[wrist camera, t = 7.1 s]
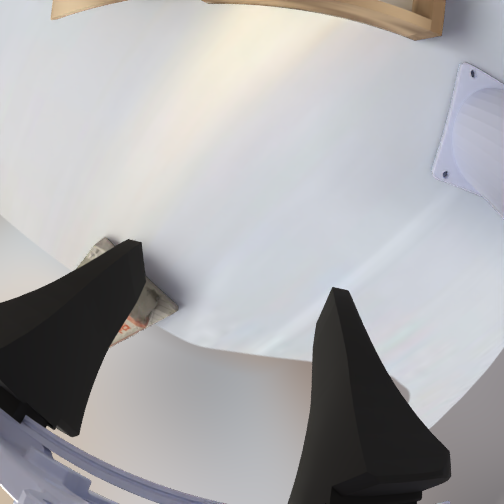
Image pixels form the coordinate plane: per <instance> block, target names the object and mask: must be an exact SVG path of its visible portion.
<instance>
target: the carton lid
mask: <svg viewBox="0 0 504 504" xmlns="http://www.w3.org/2000/svg"><path fill="white" fill-rule="evenodd" d="M122 1H127V0H53V4H52V12H51V20H57V19H59V18H62V17H65V16H68V15H71V14H75V13H78V12H81V11H85V10H88V9H92V8H96V7H100V6H104V5H108V4H113V3H117V2H122Z"/></svg>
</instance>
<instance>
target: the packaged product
mask: <svg viewBox="0 0 504 504" xmlns="http://www.w3.org/2000/svg"><path fill="white" fill-rule="evenodd" d="M113 247H115V246H114V245H113V244H112V243H111V242H110V241H109V240H108V239H107V238H103V239H102V240H100V241H99V242H98V243H97V244H95V245H94V246H93V248H92V249H91V250H90V252H89V253H88V254H87V256H86V257H85V259H84V260H83V261H82V262H81V264H80V265H79V266H78V267H77V269H78V268H79V267H81V266H83V265H85V264H86V263H88V262H90V261H91V260H93V259H95V258H96V257H98V256H100V255H101V254H103V253H105V252H106V251H108V250H110V249H111V248H113ZM177 311H178V306H177V305H176V304H175V303H174V302H173V301H172V300H171V299H170V298H169V297H168V296H167V295H165V294H164V293H163V292H162V291H161V290H160V289H159V288H158V287H157V286H156V285H155V284H154V283H152V282H151V281H150V280H149V279H148V278H147V277H146V284H145V286H144V288H143V290H142V292H141V295H140V297H139V299H138V301H137V303H136V305H135V306H134V308H133V310H132V311H131V313H130V314H129V316H128V318H127V319H126V321H125V322H124V324H123V326H122V327H121V329H120V330H119V332H118V334H117V335H116V337H115V339H114V340H113V342H112V344H111V345H110V347H109V348H111V347H113V346H114V345H116V344H117V343H119V342H122V341H123V340H126V339H128V338H129V337H131V336H133V335H135V334H137V333H138V332H139V331H141V330H144V329H146V328H147V327H149V326H151V325H153V324H154V323H157V322H159V321H160V320H162V319H164V318H166V317H168V316H170V315H172V314H173V313H175V312H177Z"/></svg>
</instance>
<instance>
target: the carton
mask: <svg viewBox="0 0 504 504" xmlns="http://www.w3.org/2000/svg"><path fill="white" fill-rule="evenodd" d="M202 1H204V2H206V3H208V4H247V5H262V6H273V7H282V8H290V9H297V10H304V11H310V12H315V13H321V14H326V15H331V16H335V17H340V18H344V19H348V20H352V21H356V22H360V23H364V24H367V25H371V26H374V27H377V28H380V29H384V30H387V31H390V32H393V33H396V34H399V35H401V36H404V37H407V38H409V39H412V40H415V41H416V40H421V39H426V38H432V37H438V36H442V29H443V22H444V13H445V3H446V0H202Z"/></svg>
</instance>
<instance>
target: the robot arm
mask: <svg viewBox="0 0 504 504" xmlns="http://www.w3.org/2000/svg"><path fill="white" fill-rule="evenodd" d="M472 70H473V71H474V77H472V76H471V71H472ZM445 171H447V175H446V176H445V177H444V176H443V173H444V172H445ZM431 172H432V175H433V176H434V177H435V178H436V179H438V180H440V181H443V182H446V183H448V184H451V185H454V186H456V187H459V188H461V189H464V190H466V191H469V192H471V193H474V194H476V195H479V196H481V197H483V198H485V200H486V201H487V202H488V203H489V204H490V205H491V206H492V207H493V208H494V209H495V210H496V211H497V212H498V214H499V215H500V216H501V217H502V218H503V219H504V84H503V83H501V82H500V81H498V80H497V79H495V78H493V77H492V76H490V75H488V74H487V73H485V72H483V71H481V70H480V69H478V68H476V67H474V66H472V65H471V64H469V63H461V64H460V65H459V68H458V73H457V78H456V83H455V87H454V92H453V96H452V101H451V105H450V109H449V113H448V116H447V120H446V124H445V127H444V131H443V135H442V138H441V141H440V145H439V148H438V151H437V154H436V157H435V160H434V163H433V166H432V171H431ZM145 284H146V276H145V269H144V261H143V252H142V242H138V241H134V240H130V239H128V240H126V241H124V242H122V243H120V244H118V245H116V246H115V247H113V248H111V249H110V250H108V251H106V252H105V253H103V254H101V255H100V256H98V257H96V258H95V259H93V260H91V261H90V262H88V263H86V264H85V265H83V266H81V267H79V268H78V269H76V270H74V271H72V272H70V273H69V274H67V275H65V276H63V277H62V278H60V279H58V280H56V281H54V282H52V283H50V284H48V285H46V286H44V287H41V288H39V289H37V290H35V291H32V292H29V293H27V294H24V295H22V296H20V297H17V298H14V299H11V300H8V301H5V302H2V303H0V485H1V487H2V488H3V489H4V490H5V491H6V492H7V493H8V494H9V495H10V496H11V497H12V498H13V499H14V502H13V504H119V503H116V502H114V501H112V500H110V499H107V498H105V497H103V496H101V495H99V494H97V493H95V492H93V491H91V490H89V487H90V485H91V480H89V479H88V478H86V477H84V476H82V475H81V474H79V473H77V472H75V471H74V470H72V469H70V468H68V467H67V466H65V465H63V464H61V463H60V462H58V461H56V460H54V459H53V457H52V453H51V451H53V452H54V453H56V454H57V455H59V456H61V457H62V458H64V459H66V460H67V461H69V462H71V463H72V464H74V465H76V466H78V467H79V468H81V469H83V470H85V471H87V472H88V473H90V474H92V475H94V476H96V477H98V478H100V479H102V480H104V481H106V482H109V483H110V484H113V485H115V486H117V487H119V488H121V489H124V490H126V491H128V492H131V493H133V494H136V495H138V496H141V497H143V498H146V499H148V500H151V501H154V502H157V503H160V504H225V503H220V502H217V501H212V500H208V499H204V498H201V497H197V496H193V495H190V494H186V493H183V492H180V491H177V490H174V489H171V488H167V487H164V486H162V485H159V484H156V483H153V482H151V481H148V480H145V479H143V478H140V477H138V476H135V475H133V474H130V473H128V472H126V471H123V470H121V469H119V468H117V467H115V466H112V465H110V464H108V463H106V462H104V461H102V460H100V459H98V458H96V457H94V456H92V455H90V454H88V453H86V452H84V451H83V450H80V449H79V448H77V447H75V446H74V445H72V444H70V443H68V442H67V441H65V440H63V439H62V438H60V437H58V436H57V435H55V434H53V433H52V432H50V431H49V430H47V429H46V426H49V427H50V428H52V429H53V430H55V429H56V428H57V429H59V430H60V431H62V432H64V433H65V434H67V435H69V436H70V437H75V436H78V435H79V433H80V428H81V424H82V419H83V416H84V412H85V408H86V405H87V402H88V398H89V395H90V392H91V389H92V387H93V384H94V381H95V379H96V376H97V373H98V371H99V369H100V366H101V364H102V361H103V359H104V357H105V355H106V353H107V351H108V349H109V347H110V345H111V344H112V342H113V340H114V339H115V337H116V335H117V334H118V332H119V330H120V329H121V327H122V326H123V324H124V322H125V321H126V319H127V318H128V316H129V314H130V313H131V311H132V310H133V308H134V306H135V305H136V303H137V301H138V299H139V297H140V295H141V292H142V290H143V288H144V286H145ZM50 450H51V451H50ZM450 477H451V463H450V452H449V450H448V449H447V448H446V447H445V446H444V445H443V444H442V443H441V442H440V441H439V440H438V439H437V438H436V437H435V436H434V435H433V434H432V433H431V432H430V431H429V429H428V428H427V427H426V426H425V425H424V423H423V422H422V421H421V420H420V419H419V418H418V416H417V415H416V414H415V412H414V411H413V410H412V408H411V407H410V406H409V404H408V403H407V402H406V400H405V399H404V397H403V396H402V395H401V393H400V392H399V390H398V389H397V387H396V386H395V384H394V383H393V381H392V379H391V377H390V376H389V374H388V373H387V371H386V369H385V367H384V365H383V364H382V362H381V360H380V358H379V356H378V354H377V352H376V350H375V348H374V346H373V344H372V342H371V340H370V338H369V336H368V334H367V331H366V329H365V327H364V325H363V323H362V320H361V318H360V316H359V313H358V311H357V309H356V306H355V304H354V302H353V299H352V297H351V295H350V293H349V291H348V290H344V289H339V288H335V287H332V289H331V291H330V294H329V296H328V298H327V301H326V303H325V305H324V308H323V310H322V312H321V314H320V317H319V319H318V321H317V323H316V329H315V336H314V344H313V361H312V391H311V407H310V414H309V420H308V426H307V431H306V436H305V441H304V446H303V451H302V455H301V459H300V463H299V467H298V471H297V475H296V479H295V482H294V485H293V489H292V492H291V495H290V498H289V501H288V504H417V501H420V500H421V499H422V491H423V490H426V489H429V488H432V487H434V486H437V485H439V484H442V483H444V482H446V481H448V480H449V478H450ZM437 504H450V501H446V502H442V503H437Z"/></svg>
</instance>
